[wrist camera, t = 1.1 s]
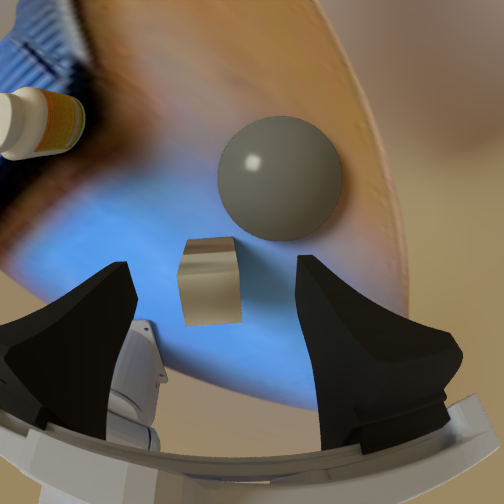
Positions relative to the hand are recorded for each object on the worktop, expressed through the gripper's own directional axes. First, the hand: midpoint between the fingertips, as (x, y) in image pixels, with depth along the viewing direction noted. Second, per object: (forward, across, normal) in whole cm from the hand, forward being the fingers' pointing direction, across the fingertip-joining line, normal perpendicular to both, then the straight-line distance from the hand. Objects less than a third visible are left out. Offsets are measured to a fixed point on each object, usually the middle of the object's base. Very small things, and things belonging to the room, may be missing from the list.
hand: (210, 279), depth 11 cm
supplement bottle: (+12, +15, -8) cm, 21 cm away
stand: (+13, -4, -1) cm, 14 cm away
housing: (+12, +2, +6) cm, 13 cm away
